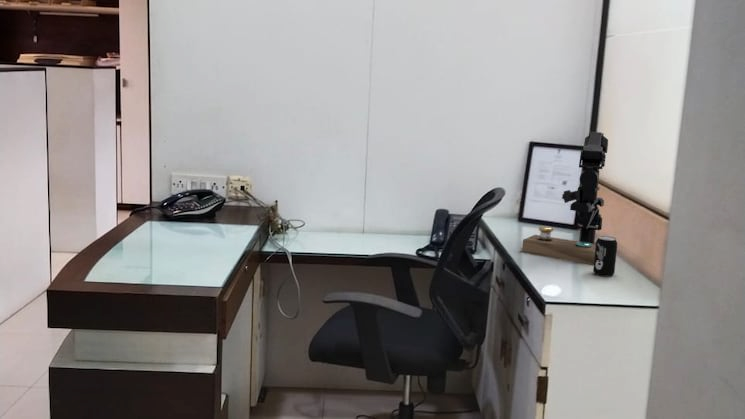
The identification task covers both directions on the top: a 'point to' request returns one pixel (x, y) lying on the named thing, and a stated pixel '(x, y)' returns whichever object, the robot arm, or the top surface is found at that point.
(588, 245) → the plunger teal
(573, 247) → the walnut block
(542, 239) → the plunger ochre
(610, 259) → the beverage can
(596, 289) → the top surface
